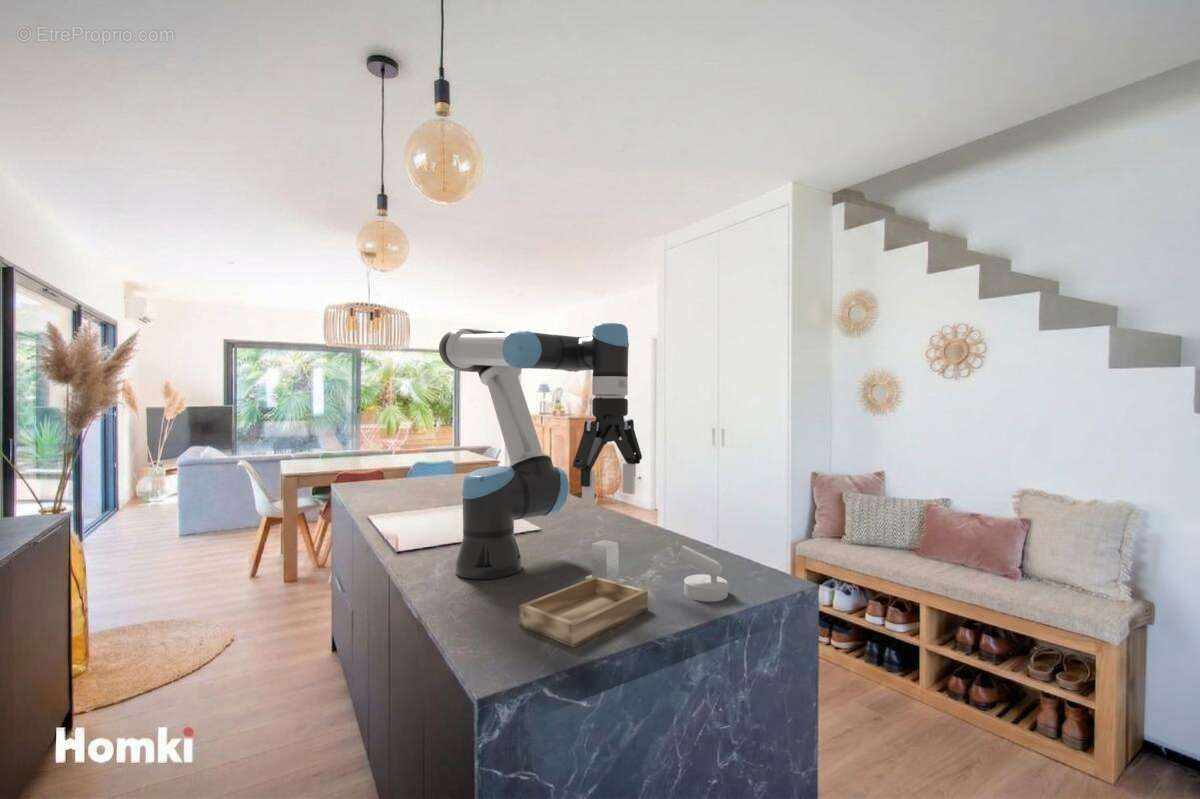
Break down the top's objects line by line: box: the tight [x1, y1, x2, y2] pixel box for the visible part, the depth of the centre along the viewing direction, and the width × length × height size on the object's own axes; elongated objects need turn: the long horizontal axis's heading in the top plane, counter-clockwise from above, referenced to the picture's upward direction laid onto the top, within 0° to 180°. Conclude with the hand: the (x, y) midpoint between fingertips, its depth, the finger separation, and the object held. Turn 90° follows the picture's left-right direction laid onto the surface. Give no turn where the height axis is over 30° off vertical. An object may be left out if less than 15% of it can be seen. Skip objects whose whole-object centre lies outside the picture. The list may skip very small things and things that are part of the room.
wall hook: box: [676, 544, 729, 603], centre depth 106 cm, size 9×10×10 cm
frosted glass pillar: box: [584, 539, 627, 585], centre depth 111 cm, size 8×4×9 cm, turn 49°
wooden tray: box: [518, 576, 649, 649], centre depth 95 cm, size 13×20×4 cm, turn 139°
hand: (609, 497), depth 111 cm, fingers open, 13 cm apart
